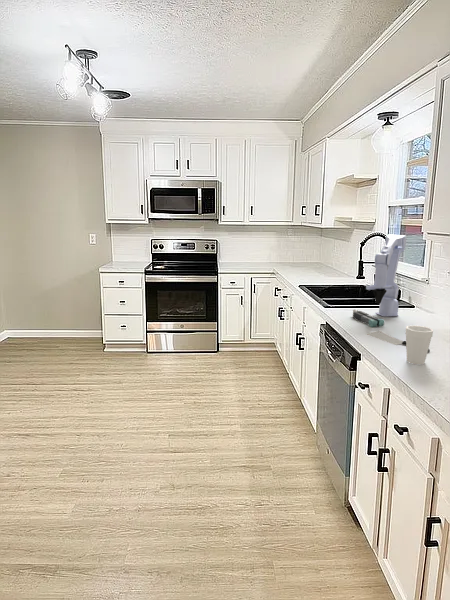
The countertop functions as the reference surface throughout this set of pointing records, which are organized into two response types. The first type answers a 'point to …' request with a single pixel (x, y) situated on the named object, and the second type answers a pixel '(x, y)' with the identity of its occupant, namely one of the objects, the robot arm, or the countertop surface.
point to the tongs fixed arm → (365, 319)
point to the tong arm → (379, 321)
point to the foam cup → (417, 343)
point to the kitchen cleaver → (388, 338)
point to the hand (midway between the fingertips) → (378, 303)
